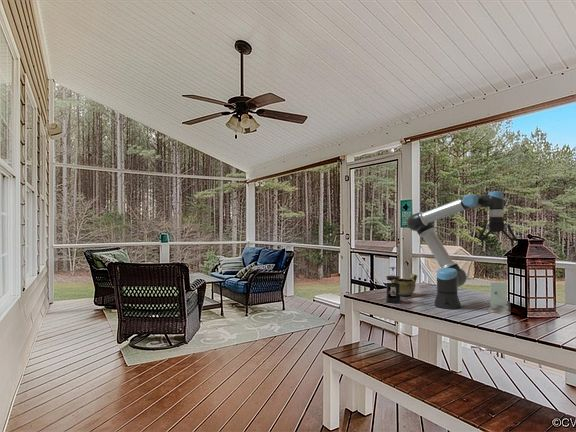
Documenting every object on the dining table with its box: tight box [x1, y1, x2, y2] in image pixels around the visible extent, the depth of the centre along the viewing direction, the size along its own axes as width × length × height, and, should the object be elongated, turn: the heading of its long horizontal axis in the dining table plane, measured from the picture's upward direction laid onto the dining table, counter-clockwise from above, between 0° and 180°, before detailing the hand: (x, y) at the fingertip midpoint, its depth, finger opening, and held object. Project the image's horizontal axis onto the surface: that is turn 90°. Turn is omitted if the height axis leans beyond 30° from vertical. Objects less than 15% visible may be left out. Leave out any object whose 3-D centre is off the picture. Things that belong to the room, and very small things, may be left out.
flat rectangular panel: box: [489, 281, 508, 306], centre depth 208 cm, size 8×3×16 cm, turn 63°
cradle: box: [487, 300, 511, 315], centre depth 208 cm, size 11×6×6 cm, turn 63°
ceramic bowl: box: [389, 273, 418, 297], centre depth 261 cm, size 22×17×15 cm
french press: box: [385, 266, 402, 305], centre depth 239 cm, size 12×9×23 cm
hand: (497, 251), depth 217 cm, fingers open, 13 cm apart
